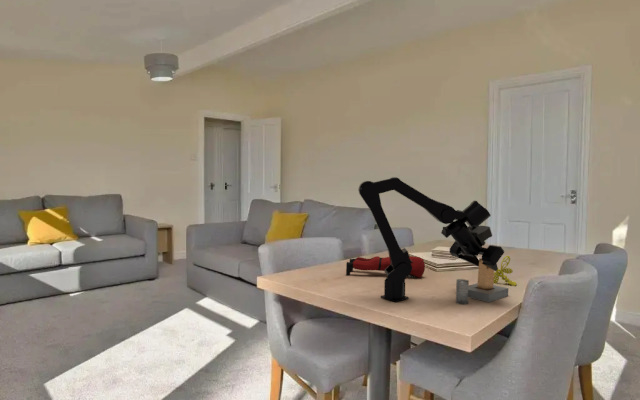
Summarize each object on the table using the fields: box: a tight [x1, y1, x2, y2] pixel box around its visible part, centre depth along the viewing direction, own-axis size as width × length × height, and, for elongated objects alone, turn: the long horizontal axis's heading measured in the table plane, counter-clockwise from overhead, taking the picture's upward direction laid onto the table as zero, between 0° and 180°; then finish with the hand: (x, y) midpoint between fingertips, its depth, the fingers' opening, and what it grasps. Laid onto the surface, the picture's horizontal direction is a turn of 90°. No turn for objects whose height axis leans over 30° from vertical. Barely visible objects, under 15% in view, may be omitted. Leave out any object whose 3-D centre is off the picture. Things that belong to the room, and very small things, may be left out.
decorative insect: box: [493, 255, 518, 287], centre depth 158 cm, size 13×3×10 cm
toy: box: [345, 256, 426, 279], centre depth 170 cm, size 28×8×30 cm
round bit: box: [455, 278, 470, 306], centre depth 134 cm, size 4×4×7 cm
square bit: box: [477, 257, 495, 291], centre depth 142 cm, size 3×3×12 cm
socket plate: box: [468, 282, 509, 303], centre depth 142 cm, size 12×10×2 cm
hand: (488, 267), depth 142 cm, fingers open, 7 cm apart
